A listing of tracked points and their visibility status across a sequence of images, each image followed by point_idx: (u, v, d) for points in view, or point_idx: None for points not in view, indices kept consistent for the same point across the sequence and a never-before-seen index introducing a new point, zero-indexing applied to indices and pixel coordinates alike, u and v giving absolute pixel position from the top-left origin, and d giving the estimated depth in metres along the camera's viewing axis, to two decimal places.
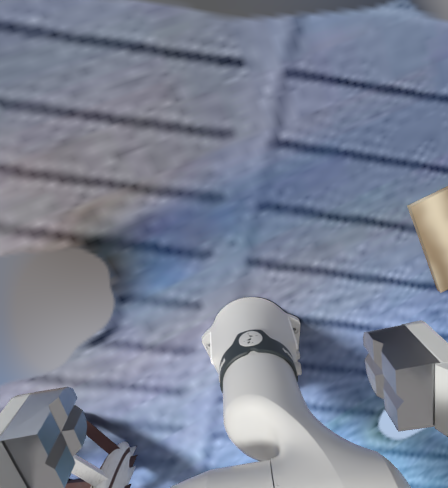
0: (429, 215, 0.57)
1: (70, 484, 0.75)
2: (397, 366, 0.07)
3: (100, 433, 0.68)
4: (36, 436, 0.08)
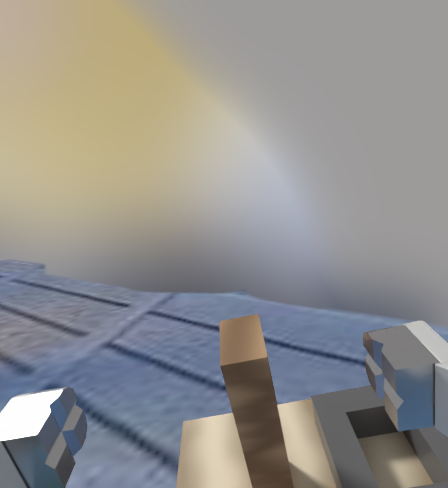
0: (203, 440, 0.35)
1: None
2: (397, 366, 0.07)
3: None
4: (36, 436, 0.08)
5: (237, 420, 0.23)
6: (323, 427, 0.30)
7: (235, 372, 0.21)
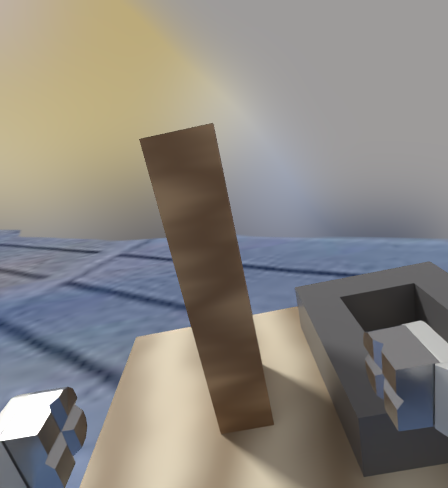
0: (157, 352, 0.27)
1: None
2: (397, 366, 0.07)
3: None
4: (36, 436, 0.08)
5: (172, 245, 0.15)
6: (309, 312, 0.22)
7: (163, 153, 0.14)
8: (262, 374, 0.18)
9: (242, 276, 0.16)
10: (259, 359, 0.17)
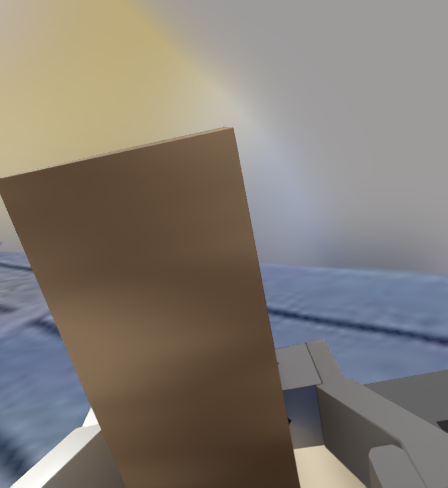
0: None
1: None
2: (282, 387, 0.07)
3: None
4: None
5: (121, 452, 0.06)
6: None
7: (78, 223, 0.04)
8: None
9: None
10: None
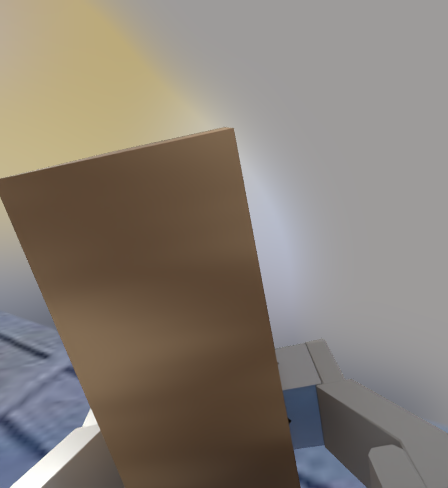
0: None
1: None
2: None
3: None
4: None
5: (121, 454, 0.06)
6: None
7: (77, 224, 0.04)
8: None
9: None
10: None
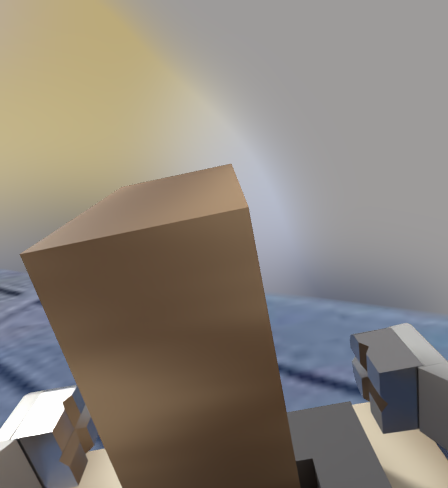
0: None
1: None
2: (381, 369, 0.07)
3: None
4: (51, 433, 0.08)
5: None
6: None
7: (98, 292, 0.05)
8: None
9: None
10: None
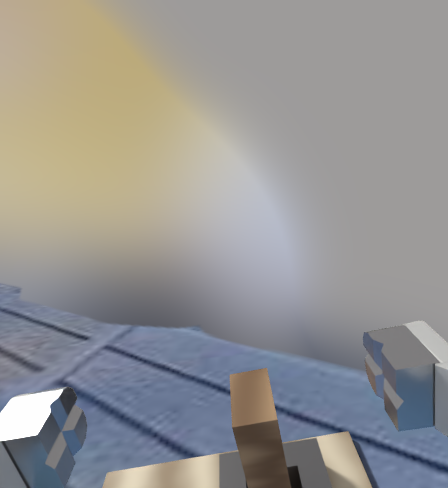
0: None
1: None
2: (397, 366, 0.07)
3: None
4: (36, 436, 0.08)
5: (247, 476, 0.24)
6: None
7: (246, 433, 0.23)
8: None
9: None
10: None
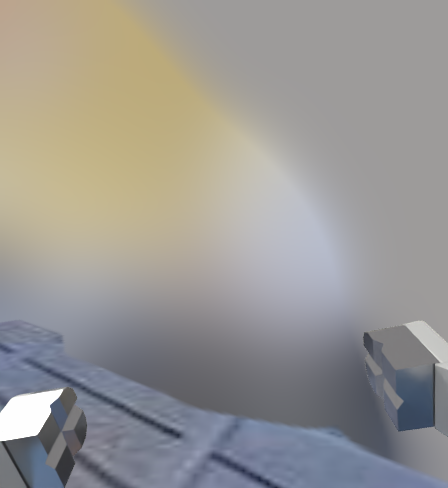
0: None
1: None
2: (397, 366, 0.07)
3: None
4: (36, 436, 0.08)
5: None
6: None
7: None
8: None
9: None
10: None
